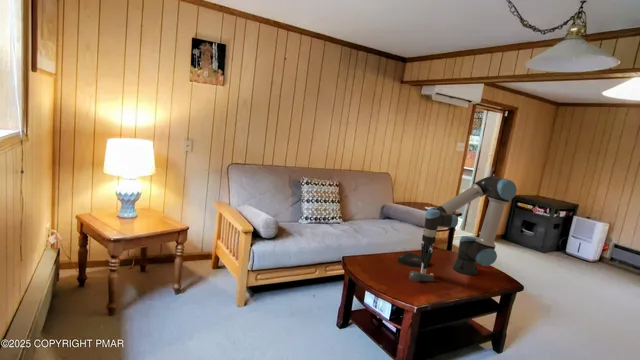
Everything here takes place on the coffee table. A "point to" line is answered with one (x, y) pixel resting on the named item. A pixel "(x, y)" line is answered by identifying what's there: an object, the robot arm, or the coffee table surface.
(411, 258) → the portable cd player
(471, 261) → the robot arm
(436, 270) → the coffee table surface
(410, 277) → the dial
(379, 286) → the coffee table surface
